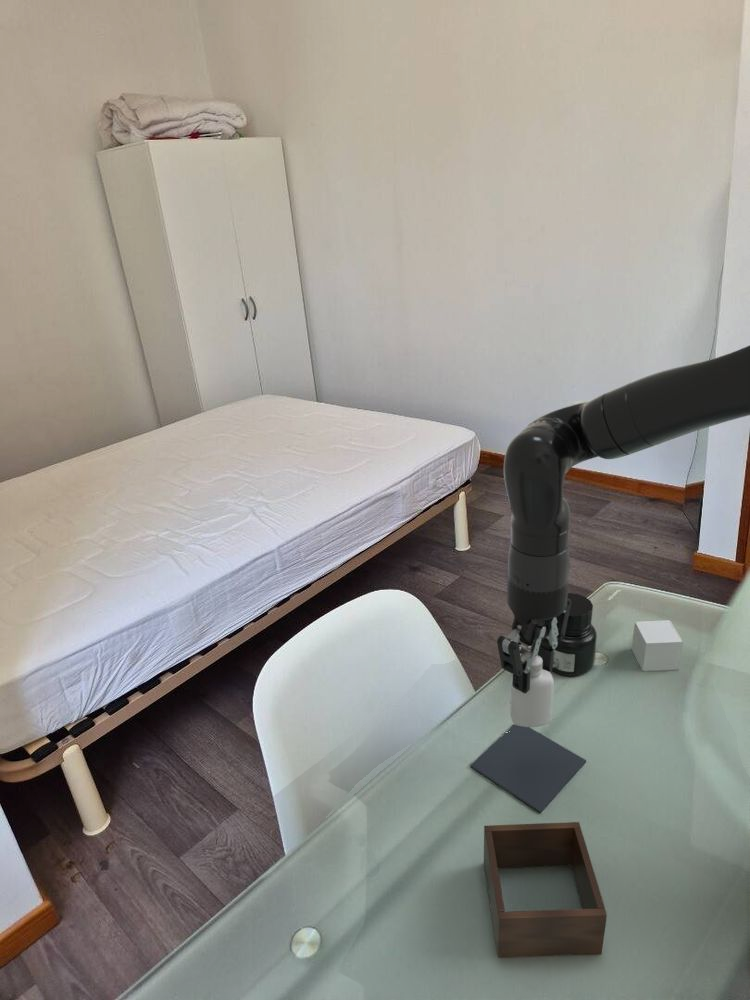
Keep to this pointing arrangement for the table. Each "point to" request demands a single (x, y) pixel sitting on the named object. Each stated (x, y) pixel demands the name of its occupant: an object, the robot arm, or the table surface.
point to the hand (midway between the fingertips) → (533, 678)
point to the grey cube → (656, 645)
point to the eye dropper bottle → (533, 698)
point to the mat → (528, 766)
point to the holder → (544, 927)
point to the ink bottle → (576, 639)
